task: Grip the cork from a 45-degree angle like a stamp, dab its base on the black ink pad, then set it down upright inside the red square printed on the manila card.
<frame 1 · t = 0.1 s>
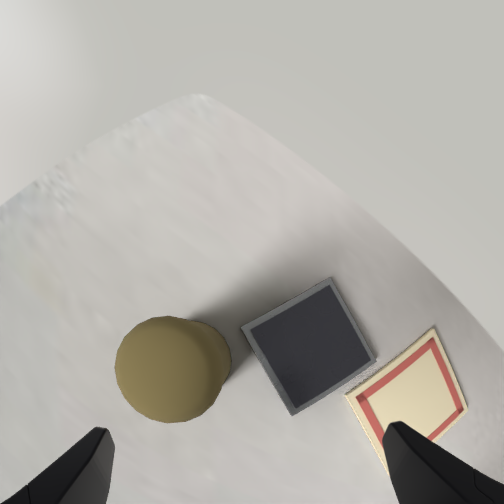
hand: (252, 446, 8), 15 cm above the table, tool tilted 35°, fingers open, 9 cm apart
ink pad: (310, 346, 23), on the table
print card: (413, 405, 22), on the table
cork: (191, 359, 23), on the table
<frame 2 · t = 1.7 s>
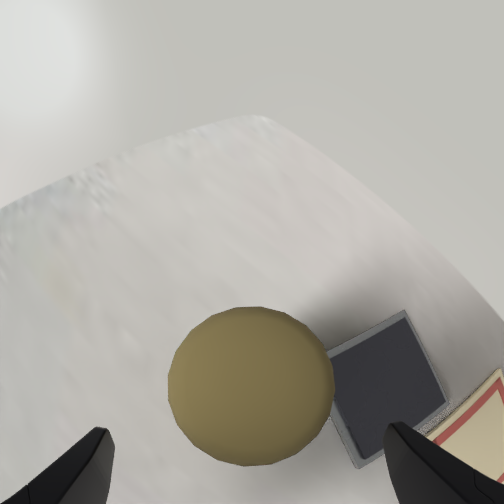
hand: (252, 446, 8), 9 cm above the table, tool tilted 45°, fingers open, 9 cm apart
ink pad: (382, 387, 18), on the table
print card: (480, 452, 15), on the table
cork: (240, 398, 17), on the table
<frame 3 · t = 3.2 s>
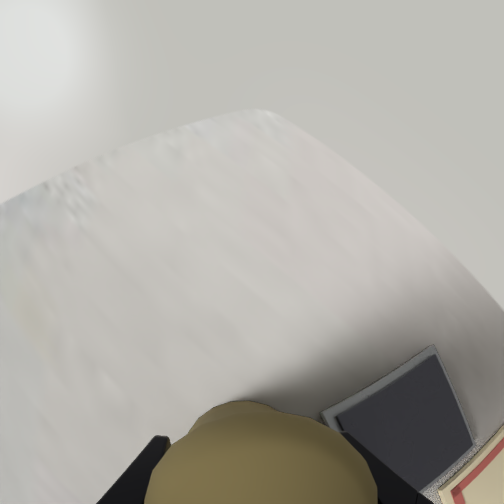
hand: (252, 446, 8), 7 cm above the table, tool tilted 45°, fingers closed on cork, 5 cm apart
ink pad: (406, 435, 14), on the table
print card: (501, 489, 11), on the table
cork: (243, 455, 13), on the table, touching gripper
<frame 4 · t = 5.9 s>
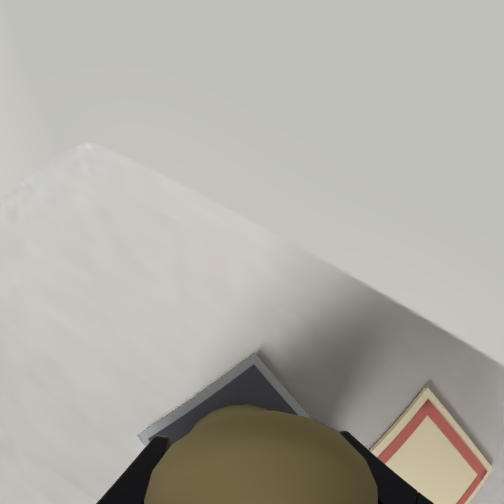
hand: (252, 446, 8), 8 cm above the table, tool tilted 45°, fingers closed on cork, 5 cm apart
ink pad: (242, 451, 14), on the table
print card: (415, 491, 13), on the table
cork: (242, 458, 13), point 1 cm above the table, touching gripper, ink pad
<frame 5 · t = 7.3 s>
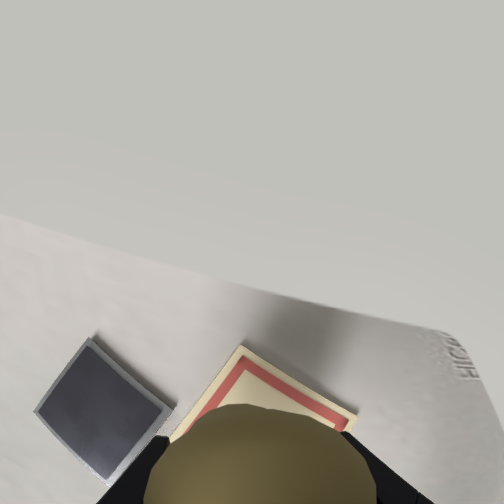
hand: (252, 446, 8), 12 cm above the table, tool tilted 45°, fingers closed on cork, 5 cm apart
ink pad: (98, 413, 18), on the table
print card: (259, 442, 18), on the table
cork: (240, 457, 13), point 5 cm above the table, touching gripper
when the fingers open (8 cm above the table, at t = 8.6 s): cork stays where it is, resting on print card.
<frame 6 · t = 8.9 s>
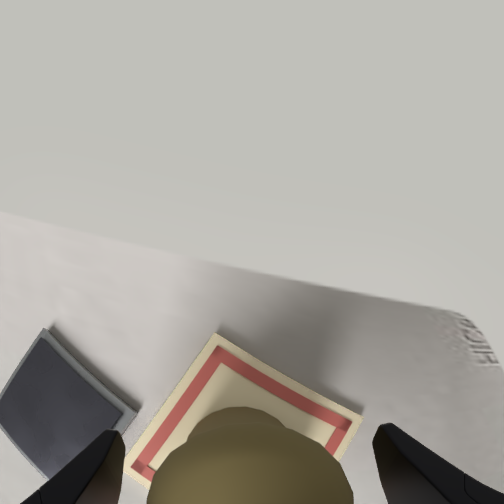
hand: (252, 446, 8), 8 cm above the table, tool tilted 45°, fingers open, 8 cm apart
ink pad: (55, 416, 14), on the table
print card: (242, 451, 15), on the table
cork: (240, 457, 14), resting on print card
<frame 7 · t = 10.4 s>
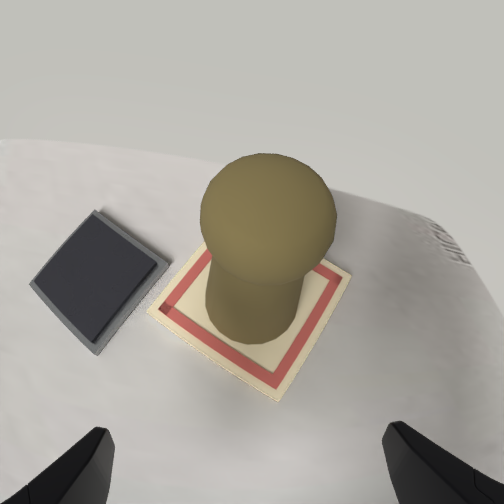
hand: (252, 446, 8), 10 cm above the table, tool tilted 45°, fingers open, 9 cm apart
ink pad: (94, 277, 20), on the table
print card: (253, 297, 21), on the table
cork: (251, 299, 20), resting on print card
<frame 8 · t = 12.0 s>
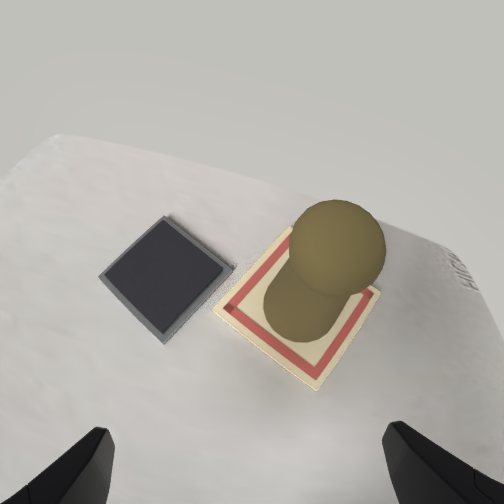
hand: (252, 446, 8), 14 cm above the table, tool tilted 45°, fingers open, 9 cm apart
ink pad: (163, 276, 25), on the table
print card: (301, 303, 25), on the table
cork: (300, 306, 24), resting on print card
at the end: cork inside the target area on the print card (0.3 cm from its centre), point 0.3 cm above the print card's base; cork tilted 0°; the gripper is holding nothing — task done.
